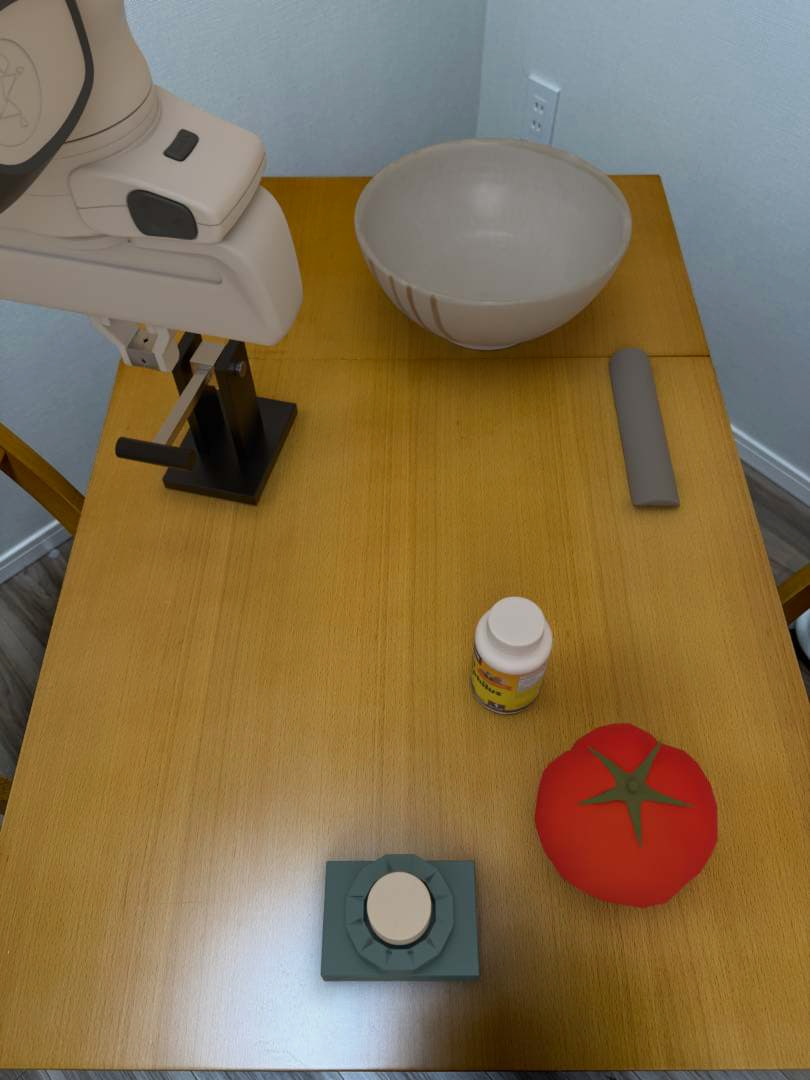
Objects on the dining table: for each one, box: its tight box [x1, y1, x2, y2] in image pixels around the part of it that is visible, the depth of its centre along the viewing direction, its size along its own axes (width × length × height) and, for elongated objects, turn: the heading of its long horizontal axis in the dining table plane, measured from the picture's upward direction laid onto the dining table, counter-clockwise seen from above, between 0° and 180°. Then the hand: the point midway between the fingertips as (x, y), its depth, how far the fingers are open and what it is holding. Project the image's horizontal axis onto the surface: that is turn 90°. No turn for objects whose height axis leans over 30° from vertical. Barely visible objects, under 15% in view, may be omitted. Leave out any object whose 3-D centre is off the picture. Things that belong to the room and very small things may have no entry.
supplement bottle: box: [469, 596, 553, 715], centre depth 63 cm, size 6×6×10 cm
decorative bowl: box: [353, 137, 633, 351], centre depth 88 cm, size 27×27×12 cm
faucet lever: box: [114, 339, 227, 472], centre depth 70 cm, size 13×6×2 cm, turn 166°
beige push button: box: [367, 872, 431, 945], centre depth 54 cm, size 4×4×2 cm
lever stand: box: [161, 331, 298, 506], centre depth 77 cm, size 12×9×13 cm
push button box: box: [320, 853, 481, 982], centre depth 56 cm, size 10×7×4 cm
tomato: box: [533, 722, 719, 909], centre depth 56 cm, size 12×12×10 cm
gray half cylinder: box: [608, 347, 681, 507], centre depth 82 cm, size 4×20×2 cm, turn 179°
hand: (153, 362), depth 53 cm, fingers closed
